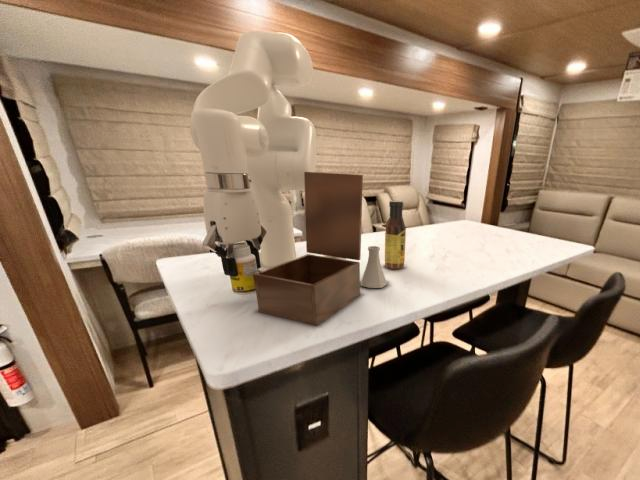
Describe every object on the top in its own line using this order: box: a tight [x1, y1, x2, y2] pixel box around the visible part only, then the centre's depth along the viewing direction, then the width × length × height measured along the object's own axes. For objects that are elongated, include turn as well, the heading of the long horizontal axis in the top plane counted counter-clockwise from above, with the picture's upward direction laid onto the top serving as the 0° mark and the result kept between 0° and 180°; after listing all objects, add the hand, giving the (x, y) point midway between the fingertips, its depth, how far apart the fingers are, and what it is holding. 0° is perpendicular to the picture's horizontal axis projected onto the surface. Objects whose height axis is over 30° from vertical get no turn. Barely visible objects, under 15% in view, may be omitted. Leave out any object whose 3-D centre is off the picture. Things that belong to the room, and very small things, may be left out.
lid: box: [304, 171, 364, 261], centre depth 73 cm, size 18×15×5 cm
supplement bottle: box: [229, 244, 259, 296], centre depth 67 cm, size 6×6×10 cm
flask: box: [360, 245, 388, 289], centre depth 80 cm, size 7×7×10 cm
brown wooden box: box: [253, 253, 361, 326], centre depth 68 cm, size 18×15×8 cm
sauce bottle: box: [384, 200, 407, 270], centre depth 93 cm, size 6×6×20 cm
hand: (243, 270), depth 67 cm, fingers closed on supplement bottle, 5 cm apart
